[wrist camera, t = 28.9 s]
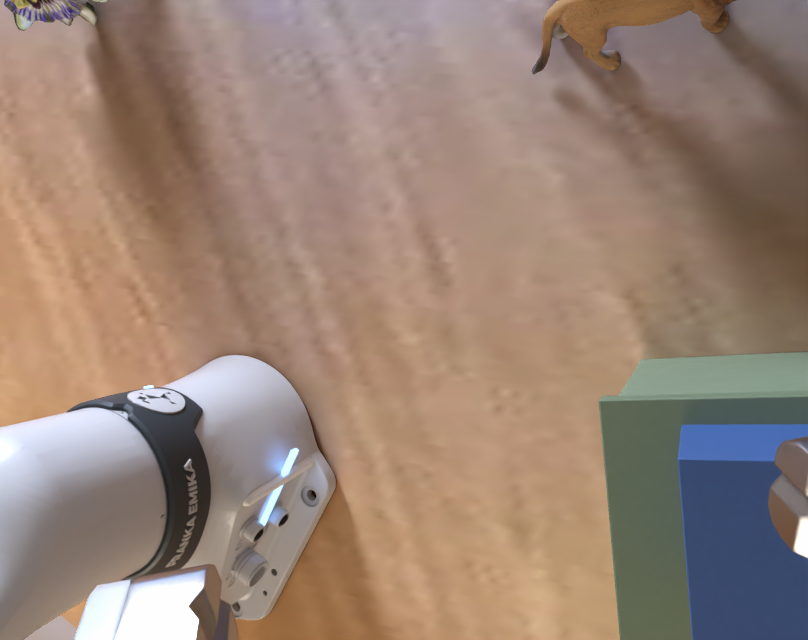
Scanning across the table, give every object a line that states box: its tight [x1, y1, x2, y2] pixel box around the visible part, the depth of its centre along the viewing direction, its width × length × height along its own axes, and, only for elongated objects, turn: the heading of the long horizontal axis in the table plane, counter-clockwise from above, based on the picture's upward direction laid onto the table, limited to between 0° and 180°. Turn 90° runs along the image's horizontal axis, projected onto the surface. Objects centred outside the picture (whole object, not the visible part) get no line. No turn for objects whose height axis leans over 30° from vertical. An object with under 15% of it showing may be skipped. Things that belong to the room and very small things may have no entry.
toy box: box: [599, 352, 808, 640], centre depth 32 cm, size 13×11×16 cm
